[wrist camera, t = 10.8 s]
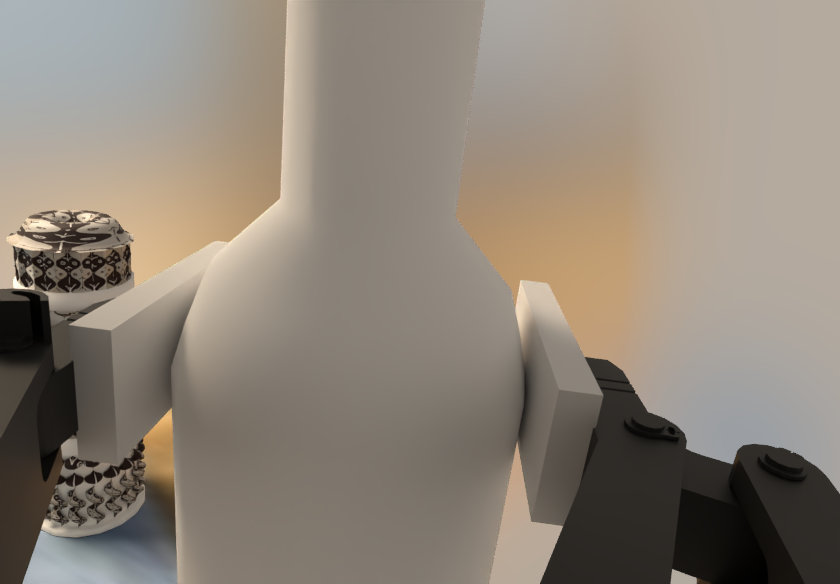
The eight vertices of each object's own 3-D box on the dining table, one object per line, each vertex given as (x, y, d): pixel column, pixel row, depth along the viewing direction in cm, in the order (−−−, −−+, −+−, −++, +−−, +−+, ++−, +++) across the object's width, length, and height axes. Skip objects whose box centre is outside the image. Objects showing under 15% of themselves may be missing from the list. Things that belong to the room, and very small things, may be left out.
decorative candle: (66, 559, 45) (38, 239, 37) (5, 506, 49) (-31, 210, 41) (172, 500, 52) (168, 223, 44) (111, 458, 57) (97, 200, 49)
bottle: (473, 953, 19) (768, -201, 9) (213, 1145, 15) (198, -526, 5) (370, 718, 25) (469, -99, 15) (170, 809, 21) (125, -202, 11)
